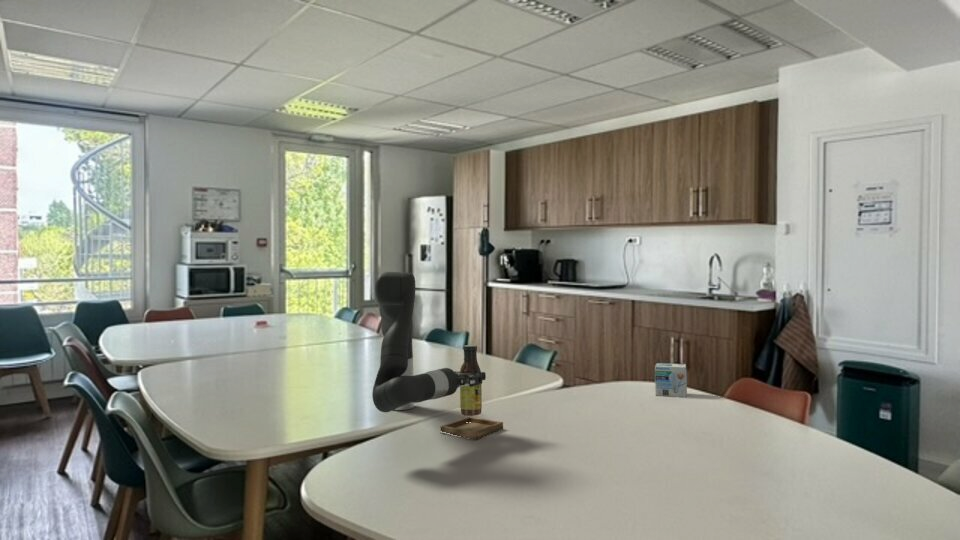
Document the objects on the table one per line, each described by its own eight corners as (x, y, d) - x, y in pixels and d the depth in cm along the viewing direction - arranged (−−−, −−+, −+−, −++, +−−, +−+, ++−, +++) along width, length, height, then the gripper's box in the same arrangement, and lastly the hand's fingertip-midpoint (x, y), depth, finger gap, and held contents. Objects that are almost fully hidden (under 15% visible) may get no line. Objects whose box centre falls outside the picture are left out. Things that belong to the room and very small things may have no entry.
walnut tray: (440, 433, 160) (440, 426, 160) (468, 423, 170) (468, 416, 170) (475, 440, 152) (475, 433, 152) (503, 429, 162) (502, 422, 163)
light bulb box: (655, 395, 199) (654, 365, 199) (656, 392, 205) (655, 362, 206) (686, 397, 195) (685, 366, 195) (687, 393, 201) (686, 363, 202)
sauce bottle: (479, 417, 157) (478, 346, 158) (458, 416, 159) (456, 346, 159) (484, 411, 164) (482, 344, 164) (463, 411, 165) (462, 344, 165)
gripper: (457, 372, 146) (494, 363, 159) (417, 368, 155) (456, 360, 168) (458, 400, 146) (495, 389, 159) (418, 395, 154) (457, 385, 168)
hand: (475, 374), depth 163 cm, fingers closed on sauce bottle, 6 cm apart
